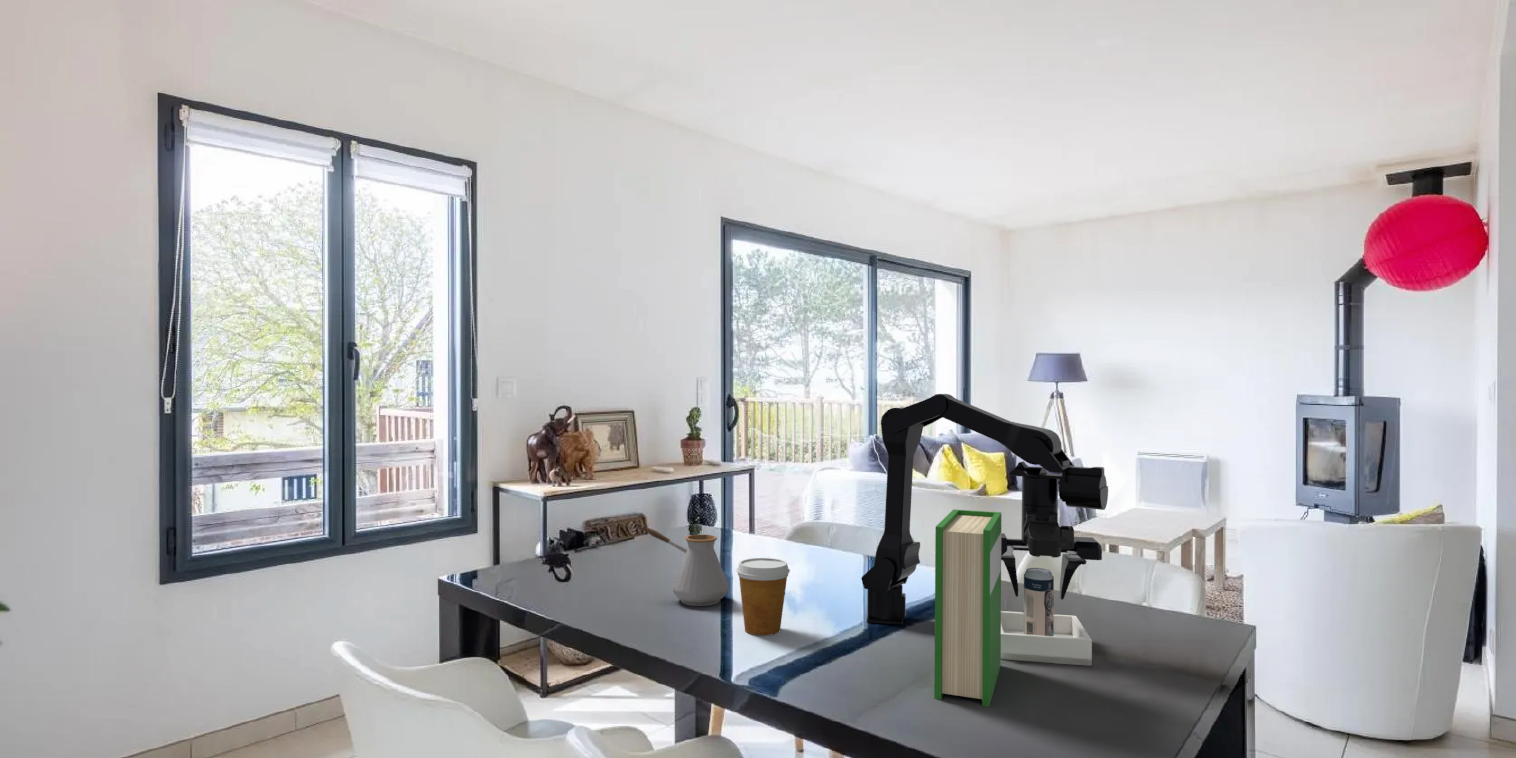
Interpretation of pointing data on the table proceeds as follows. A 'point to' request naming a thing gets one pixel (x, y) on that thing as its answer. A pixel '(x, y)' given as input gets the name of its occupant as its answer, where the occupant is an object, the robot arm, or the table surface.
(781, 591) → the disposable coffee cup
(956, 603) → the hardback book
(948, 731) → the table surface
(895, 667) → the table surface
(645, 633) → the table surface
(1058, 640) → the bin
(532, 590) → the table surface
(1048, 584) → the beer can
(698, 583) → the coffee pot
